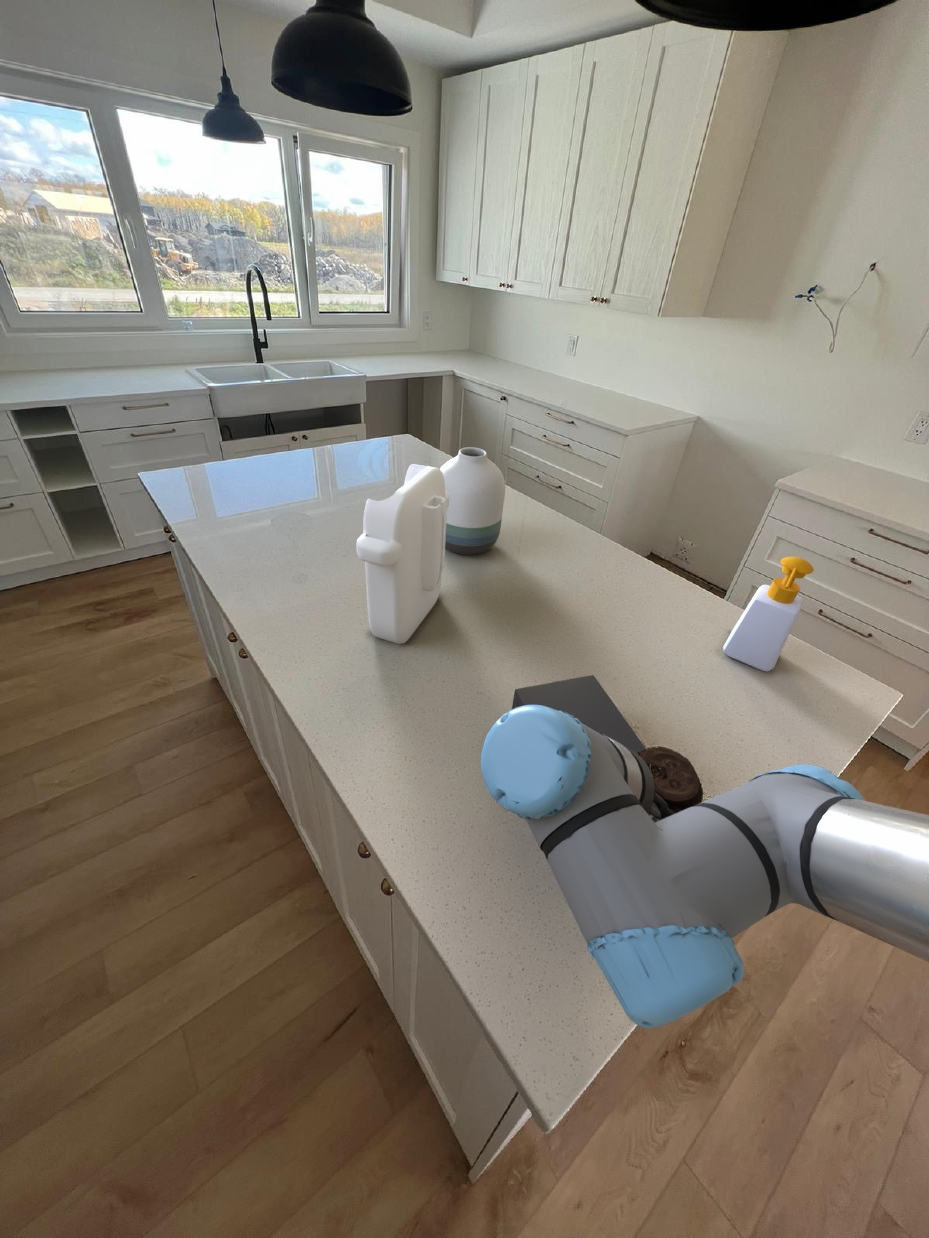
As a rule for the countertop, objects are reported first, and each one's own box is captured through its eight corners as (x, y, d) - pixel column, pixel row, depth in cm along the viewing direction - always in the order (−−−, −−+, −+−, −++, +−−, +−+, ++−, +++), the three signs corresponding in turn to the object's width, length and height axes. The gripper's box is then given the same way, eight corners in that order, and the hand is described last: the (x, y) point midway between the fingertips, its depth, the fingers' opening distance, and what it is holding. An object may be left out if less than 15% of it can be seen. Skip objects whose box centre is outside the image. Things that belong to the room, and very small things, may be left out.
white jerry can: (409, 665, 95) (410, 518, 77) (356, 648, 98) (344, 502, 80) (461, 589, 116) (471, 459, 98) (416, 577, 119) (417, 448, 100)
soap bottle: (713, 665, 101) (760, 569, 87) (731, 632, 110) (776, 540, 97) (764, 688, 97) (822, 591, 83) (779, 652, 106) (833, 559, 92)
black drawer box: (637, 803, 75) (656, 762, 70) (553, 826, 72) (566, 785, 66) (581, 714, 88) (593, 674, 83) (507, 730, 85) (515, 688, 79)
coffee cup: (588, 831, 64) (612, 765, 56) (625, 794, 69) (652, 728, 61) (650, 885, 59) (686, 820, 51) (685, 840, 64) (723, 775, 56)
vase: (505, 559, 128) (518, 465, 113) (437, 562, 125) (441, 466, 110) (490, 527, 141) (499, 439, 126) (428, 529, 138) (431, 439, 123)
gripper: (505, 732, 53) (586, 764, 70) (662, 917, 40) (715, 900, 57) (553, 678, 52) (624, 723, 69) (731, 847, 39) (763, 852, 56)
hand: (665, 803), depth 63 cm, fingers closed on coffee cup, 8 cm apart
